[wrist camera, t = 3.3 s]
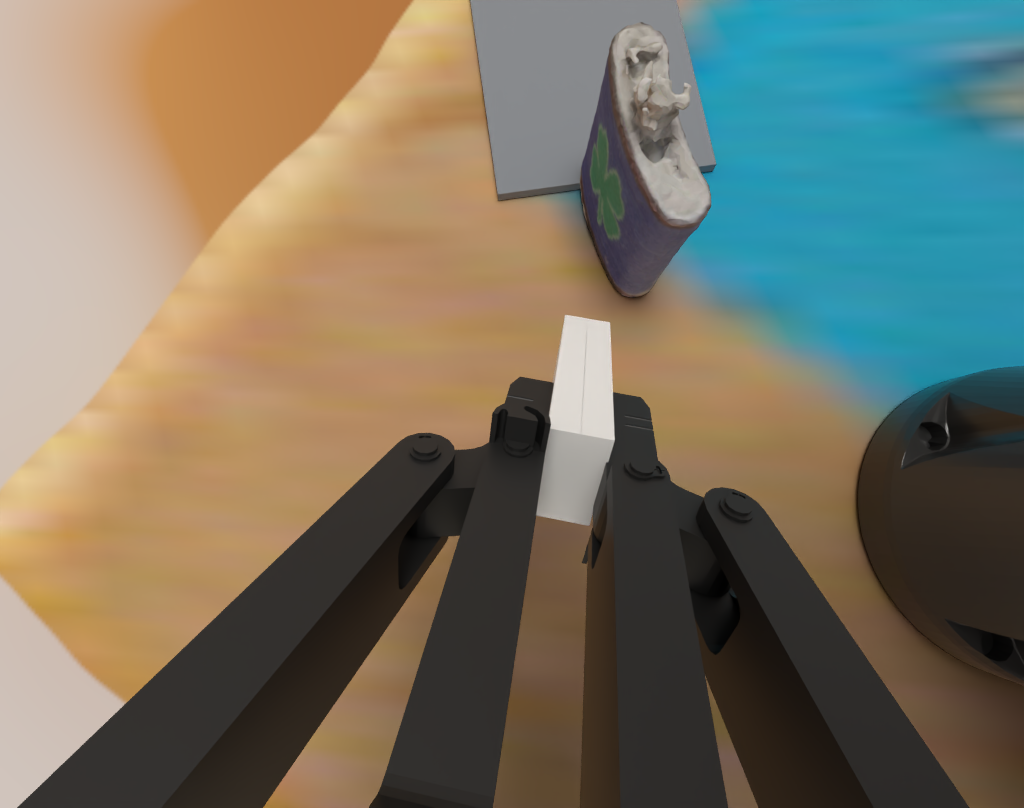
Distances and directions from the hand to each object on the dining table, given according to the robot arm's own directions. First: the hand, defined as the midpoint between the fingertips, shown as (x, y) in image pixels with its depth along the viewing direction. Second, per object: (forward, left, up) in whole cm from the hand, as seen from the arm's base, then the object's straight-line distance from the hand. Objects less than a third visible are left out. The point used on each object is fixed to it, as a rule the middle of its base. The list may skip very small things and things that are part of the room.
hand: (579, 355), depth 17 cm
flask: (+10, -5, -10) cm, 15 cm away
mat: (+21, -5, -10) cm, 24 cm away
